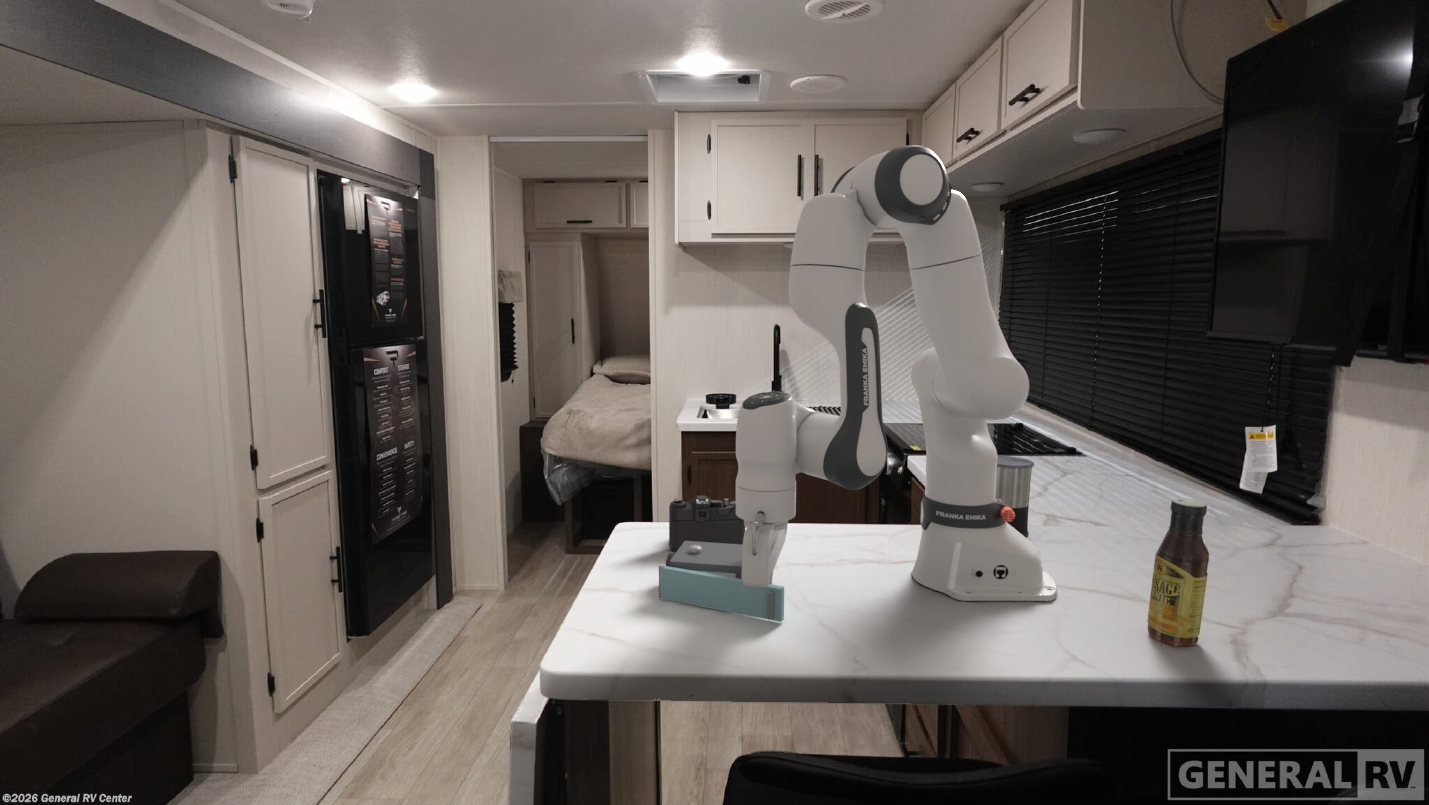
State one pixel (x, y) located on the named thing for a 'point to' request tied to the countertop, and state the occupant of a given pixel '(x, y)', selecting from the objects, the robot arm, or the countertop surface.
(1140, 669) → the countertop surface
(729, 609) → the side door
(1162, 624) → the sauce bottle
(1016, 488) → the milk frother
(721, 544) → the camera housing
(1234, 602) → the countertop surface
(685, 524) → the camera
